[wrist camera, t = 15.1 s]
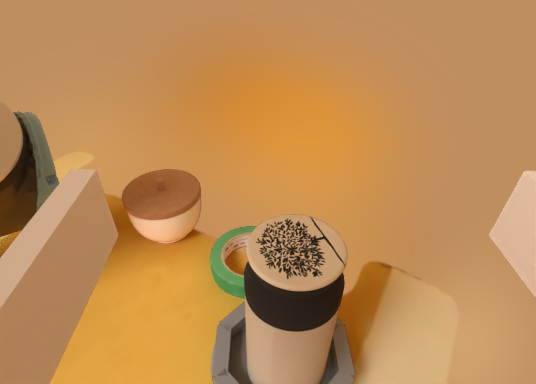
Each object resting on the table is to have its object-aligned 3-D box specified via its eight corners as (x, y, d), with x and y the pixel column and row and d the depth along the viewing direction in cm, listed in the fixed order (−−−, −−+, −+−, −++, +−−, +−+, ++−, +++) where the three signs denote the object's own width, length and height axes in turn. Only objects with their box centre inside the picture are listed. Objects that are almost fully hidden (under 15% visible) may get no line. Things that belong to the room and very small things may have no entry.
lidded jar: (183, 199, 59) (175, 152, 54) (218, 232, 53) (214, 182, 47) (122, 226, 54) (106, 177, 48) (154, 267, 47) (139, 215, 42)
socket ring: (183, 360, 37) (179, 349, 36) (277, 280, 46) (278, 268, 44) (287, 485, 29) (289, 477, 27) (379, 359, 38) (383, 347, 36)
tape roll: (263, 228, 54) (263, 215, 53) (307, 275, 47) (309, 261, 46) (198, 257, 49) (196, 244, 48) (236, 314, 42) (235, 301, 40)
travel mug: (255, 416, 33) (253, 300, 22) (241, 338, 39) (235, 218, 28) (334, 396, 34) (370, 279, 23) (309, 324, 40) (328, 205, 29)
